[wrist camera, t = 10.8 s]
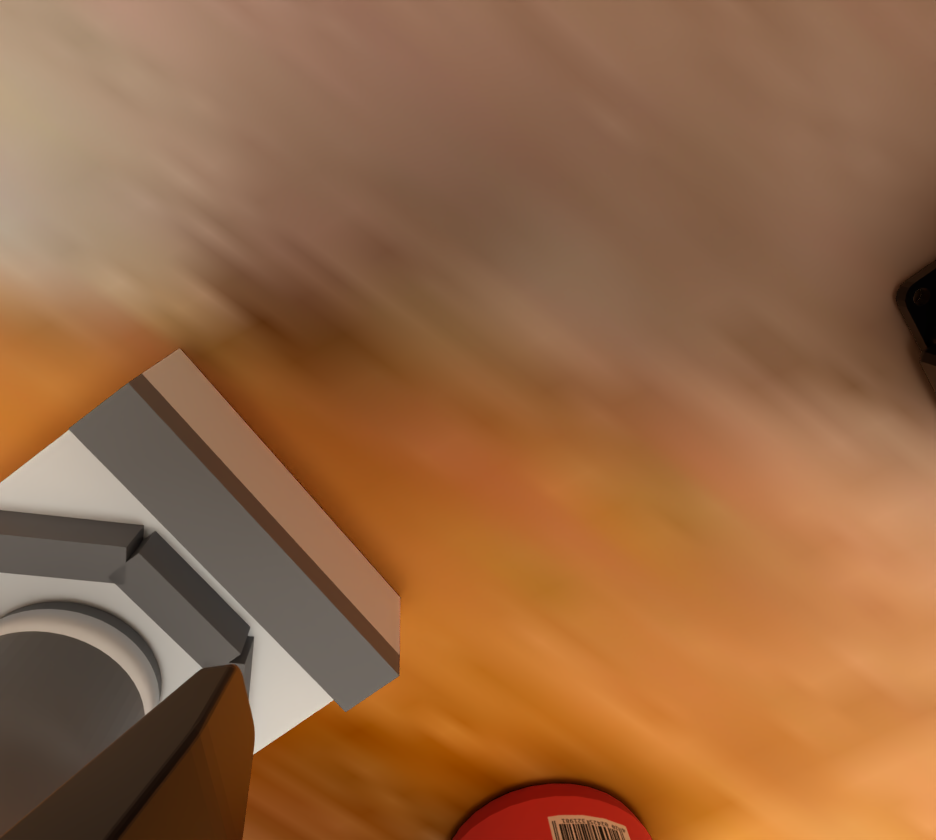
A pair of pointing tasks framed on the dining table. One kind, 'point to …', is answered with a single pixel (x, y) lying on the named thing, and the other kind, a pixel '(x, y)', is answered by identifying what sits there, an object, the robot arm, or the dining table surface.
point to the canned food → (553, 816)
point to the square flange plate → (199, 550)
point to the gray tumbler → (65, 696)
